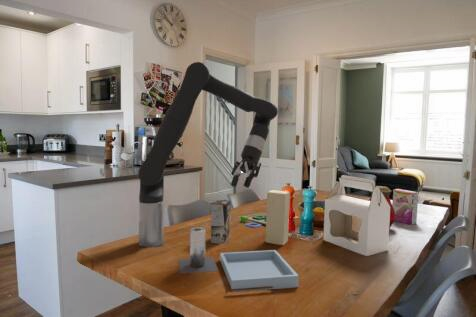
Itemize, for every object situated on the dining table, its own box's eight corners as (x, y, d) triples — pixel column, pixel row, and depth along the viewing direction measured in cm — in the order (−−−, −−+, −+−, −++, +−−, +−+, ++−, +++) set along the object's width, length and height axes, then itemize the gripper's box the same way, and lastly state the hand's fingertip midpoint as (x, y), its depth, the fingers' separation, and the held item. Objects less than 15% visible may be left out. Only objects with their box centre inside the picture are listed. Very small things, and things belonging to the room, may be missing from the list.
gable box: (322, 240, 146) (325, 174, 144) (343, 235, 153) (346, 173, 151) (367, 256, 127) (370, 182, 125) (388, 250, 134) (392, 179, 132)
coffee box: (225, 244, 138) (226, 205, 137) (210, 243, 139) (210, 204, 138) (230, 237, 147) (231, 200, 146) (216, 236, 148) (216, 199, 147)
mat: (179, 276, 107) (179, 273, 107) (178, 262, 119) (178, 259, 119) (218, 274, 110) (218, 271, 110) (213, 260, 121) (213, 257, 121)
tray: (231, 292, 97) (231, 280, 97) (219, 262, 119) (220, 253, 119) (298, 287, 101) (298, 275, 101) (275, 259, 123) (275, 249, 123)
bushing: (190, 268, 111) (190, 232, 110) (189, 262, 116) (189, 227, 115) (205, 267, 112) (206, 231, 111) (204, 261, 117) (204, 227, 116)
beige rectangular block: (289, 240, 145) (290, 191, 143) (283, 245, 138) (285, 194, 136) (271, 237, 148) (272, 189, 146) (265, 242, 141) (266, 192, 140)
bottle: (360, 229, 163) (362, 187, 161) (361, 222, 175) (363, 183, 173) (396, 233, 157) (399, 190, 155) (395, 226, 169) (397, 186, 167)
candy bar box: (390, 220, 181) (392, 189, 180) (396, 219, 184) (397, 188, 182) (411, 225, 172) (413, 192, 170) (416, 223, 174) (418, 192, 173)
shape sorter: (281, 213, 194) (281, 205, 194) (306, 221, 179) (306, 212, 178) (232, 221, 174) (232, 212, 174) (255, 231, 159) (256, 221, 159)
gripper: (236, 145, 140) (221, 182, 135) (257, 143, 128) (243, 183, 124) (249, 153, 144) (236, 189, 139) (271, 152, 132) (258, 191, 127)
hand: (239, 186), depth 131 cm, fingers open, 8 cm apart
